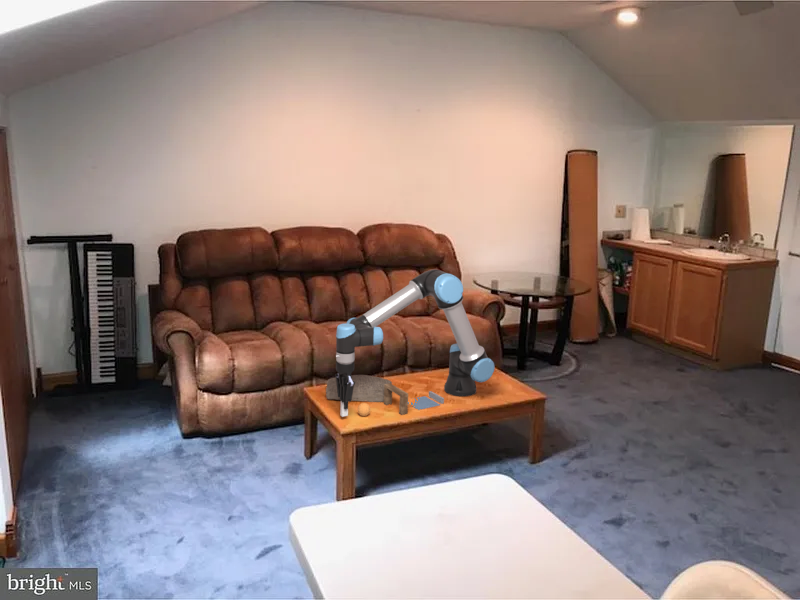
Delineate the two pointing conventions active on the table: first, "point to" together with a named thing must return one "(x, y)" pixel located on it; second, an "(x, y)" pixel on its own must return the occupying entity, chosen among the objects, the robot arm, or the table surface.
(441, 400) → the wall
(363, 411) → the ball
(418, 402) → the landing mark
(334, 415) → the table surface
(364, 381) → the stone tablet
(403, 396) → the bridge
